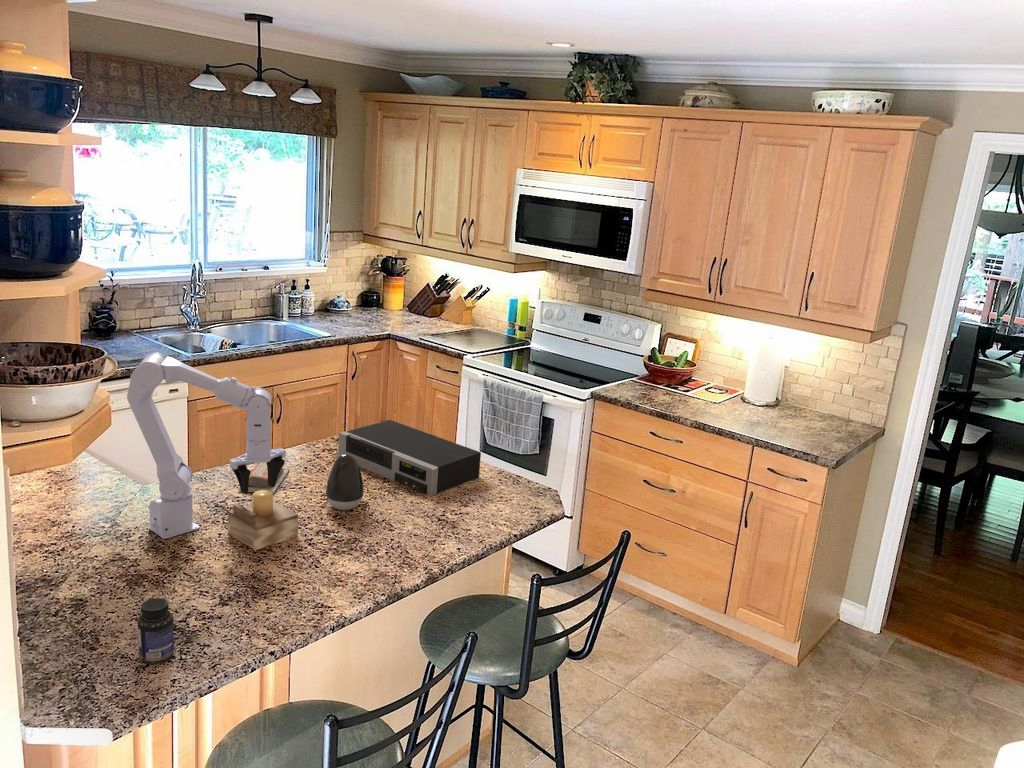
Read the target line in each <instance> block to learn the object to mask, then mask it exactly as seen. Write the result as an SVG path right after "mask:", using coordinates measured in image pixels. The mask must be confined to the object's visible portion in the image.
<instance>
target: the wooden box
mask: <svg viewBox="0 0 1024 768" xmlns="http://www.w3.org/2000/svg"><path fill="white" fill-rule="evenodd" d="M227 521H228V522H227V527H228V528H227V530H228V531H227V533H228V534H229V533H230V534H229V535H230V536H232V537H234V538H235V539H237V540H239V541H240V542H242V543H243V544H245V545H247V546H248V547H250V548H252V549H253V550H254V551H259V550H260V549H263V548H267V547H269V546H273V545H275V544H278V543H282V542H284V541H287V540H290V539H293V538H296V537H298V536H299V534H298V533H299V517H298V518H295V519H291V520H288V521H285V522H282V523H279V524H276V525H272V526H269V527H266V528H263V529H260V530H257V531H255V530H253V529H252V528H250V527H248V526H247V525H245V524H243V523H242V522H240V521H239V520H237V519H235V518H234V517H232V516H230V515H229V514H228V513H227Z"/></svg>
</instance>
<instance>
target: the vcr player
mask: <svg viewBox="0 0 1024 768" xmlns="http://www.w3.org/2000/svg"><path fill="white" fill-rule="evenodd" d="M337 446H338V452H337V455H338V456H340V455H342V454H350V455H352V456H353V457H354V458H355V459H356V461H357V463H358V465H359V468H362V469H365V470H366V471H370V472H372V473H374V474H376V475H379V476H382V477H384V478H386V479H388V480H391V481H393V482H396V483H399V484H401V485H403V486H405V487H408V488H411V489H413V490H416V491H417V492H420V493H423V494H425V495H427V496H429V497H432V496H436V495H437V494H440V493H443V492H445V491H448V490H451V489H453V488H456V487H458V486H461V485H463V484H467V483H468V482H471V481H474V480H476V479H478V478H480V470H481V468H480V467H481V457H482V453H481V451H479V450H475V449H473V448H470V447H467V446H463V445H461V444H459V443H456V442H454V441H450V440H447V439H444V438H441V437H439V436H437V435H433V434H431V433H428V432H425V431H423V430H420V429H418V428H417V429H416V428H414V427H411V426H409V425H405V424H403V423H400V422H398V421H395V420H392V419H387V420H384V421H380V422H377V423H372V424H369V425H366V426H362V427H358V428H355V429H350V430H346V431H345V430H344V431H341V432H338V445H337ZM338 456H337V457H338Z"/></svg>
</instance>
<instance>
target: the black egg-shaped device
mask: <svg viewBox="0 0 1024 768" xmlns="http://www.w3.org/2000/svg"><path fill="white" fill-rule="evenodd" d="M327 477H328V478H327V481H326V487H325V497H326V498H327V501H328V504H330V506H331V507H333V508H334V509H336V510H340V511H350V510H353V509H355V508H356V507H358V506H359V504H360V503H361V502H362V499H363V497H364V496H365V495H364V494H365V493H364V492H365V489H364V480H363V476H362V472H361V467H359V465H358V463H357V461H356V459H355V458H354V457H353V456H352V455H350V454H342V455H340V456H337V457H336V459H335V460H334V461H333V464H332V466H331V468H330V472H329V475H328V476H327Z"/></svg>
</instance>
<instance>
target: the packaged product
mask: <svg viewBox="0 0 1024 768" xmlns="http://www.w3.org/2000/svg"><path fill="white" fill-rule="evenodd" d="M290 470H291V469H290V468H287V467H282V469H281V470H280V472H279V475H278V477H277V480H276V484H275V487H271V486H270V485H268V470H267V463H263V462H259V463H256V465H255V467H254V468H253V469H252V470H250V471H251V473H250V476H249V483H248V493H249V492H256V491H260V490H268V491H271V492H272V493H274V494H275V492H277V489H278V488H279V486H280V483H281V484H282V482H283V481H284V480H285V477H286V476H287V474H288V473H289V471H290ZM283 479H284V480H283ZM237 489H238V492H239V491H241V489H240V485H239V486H238V487H237Z"/></svg>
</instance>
